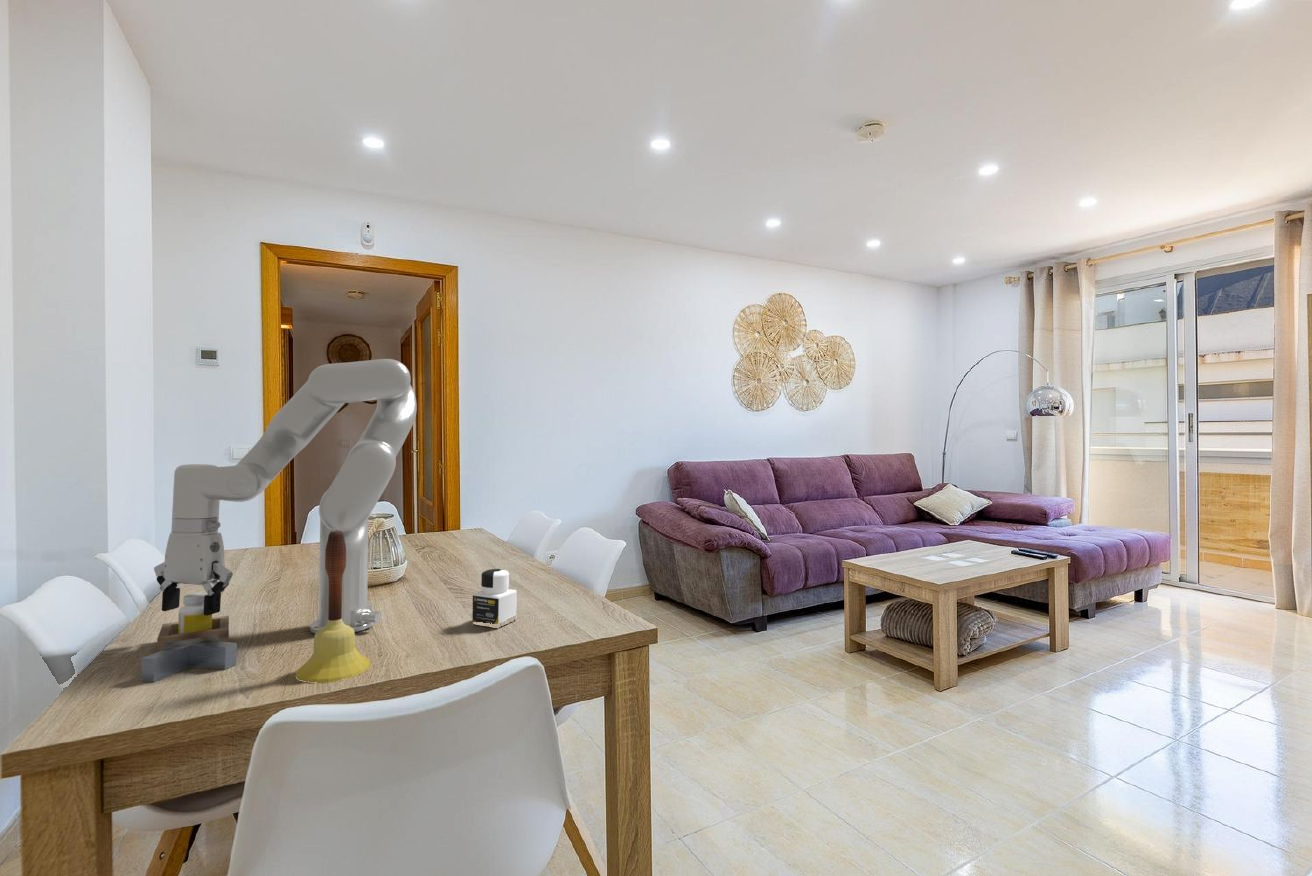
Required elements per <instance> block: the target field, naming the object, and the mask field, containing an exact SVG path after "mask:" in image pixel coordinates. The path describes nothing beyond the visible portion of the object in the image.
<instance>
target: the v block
mask: <svg viewBox="0 0 1312 876" xmlns="http://www.w3.org/2000/svg"><path fill="white" fill-rule="evenodd" d="M237 645H238V644H237V642H231V641H230V642H218V635H214V636H208V637H201V638H194V639H188V640H181V641H174V642H167V643H164V645H163V650H162V651H159V652H157V651H156V652H155V653H152V654H148V655H145V656H143V657H141V682H146V683H155V682H158V681H160V680H163V679H165V678H167V677H170V676H174V675H175V674H178V673H180V672H183V671H185V670H187V669H190V668H198V669H210V670H211V669H214V670H225V671H226V670H228V669H230V668H233V667H235V666H236V665H237V655H238V653H237V647H238V646H237ZM234 665H235V666H234Z"/></svg>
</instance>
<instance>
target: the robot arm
mask: <svg viewBox="0 0 1312 876" xmlns="http://www.w3.org/2000/svg"><path fill="white" fill-rule="evenodd" d="M411 381H412V380H411V372H410V371H409V369H408V368H407V366H406V365H405V364H404V363H402V362H400V361H399V360H395V359H392V358H379V359H378V358H377V359H370V360H361V361H360V360H359V361H350V362H335V363H326V364H321V365H320V366H317V367H316V368H314V369H313V370H312V371H311V372H310V374H309V376H308V378H307V381H306V382H305V383H304V384H303V385H302V386H301V387H300V388H299V389H298V391H296V393H295V394H293V396H292V397H290V399H289V400H288V401H287V402H286V403H285V404H283V406H282V407H281V408H280V409H279V410H278V411H277V412H276V414H274V415H273V417H272V418H271V420H270V421H269V423H268V426H267V427H266V430H265V431H264V433H263V434H262V436H261V437H260V439H259V440H258V441H257V442H256V443H255V444H254V445H253V447H251V449H250V450H249V451H248V452H247V453H246V454H245V455H244V456H243V457H242V458H241V459H240V460H239V462H237V463H236V464H235V465H229V466H228V465H227V466H217V465H214V464H205V463H203V464H202V463H199V464H196V463H193V464H191V463H190V464H189V463H188V464H187V463H186V464H181V465H179V466H177V467H176V468H175V470H174V473H173V489H172V491H173V495H172V509H171V511H172V513H171V527H170V528H171V529H170V530H171V531H170V533H169V536H168V540H167V543H166V549H165V553H164V554H165V555H164V561H163V562H161V563H159V564H158V565H156V566H154V567H153V571H154V573H155V576H156V582H157V583H158V584H159V585H160V586H159V590H160V591H161V592H162V596H161V611H162V612H167V611H171V610H174V609H178V608H179V607H180V602H181V601H180V599H181V587H178V586H179V585H180V584H184V585H186V584H187V585H194V586H195V585H197V586H200V585H201V586H202V587H203V589H204V591H205V593H207V594H208V595H205V596H204V611H203V614H204V615H206V616H208V615H211V614H212V615H214V614H217V613H219V612H220V611H221V601H222V593H224V591H225V589H226V588H227V587H228V586H229V584H230V582H231V579H232V577H233V576H234V575H233V572H232V571H231V570H230V569H228V568H227V567H225V565H226V562H225V560H226V559H225V546H224V545H225V544H224V539H223V536H222V532H219V528H220V527H221V522H220V519H219V518H220V501H226V502H232V503H233V502H235V503H244V502H248V501H252V500H253V499H255V498H256V497H258V496H259V495H260V494H262V492H264V491H265V490H266V488H268V486H269V485H270V484H271V483H272V482H273V481H274V479H276V478H277V476H278V475H279V474H280V473H281V472H282V471H283V470H284V468H285V467H286V466H287V465H288V464H289V463H290V462H291V461H292V460H293V459H294V458H295V457H296V455H298V453H300V452H301V451H302V450H303V449H304V448H306V447H307V446H308V445H309V443H310V442H311V441H312V440H314V438H315V436H317V435H318V433H319V432H321V430H322V429H323V428H324V427H325V426H326V425H327V424H328V422H329V421H330V420H331V418H333V417H334V415H336V414H337V413H338V412H339V410H340V409H341V408H342V407H343V406H344V404H348V403H349V404H350V403H360V402H361V403H362V402H370V401H375V400H376V408H375V411H374V413H373V414H372V417H371V418H370V420H369V421H368V424H367V426H366V427H365V429H364V431H363V432H362V434H361V436H360V437H359V439H358V440H357V442H356V443H355V445H353V447H351V449H350V450H349V453H348V454H347V457H346V458H345V460H344V462H343V463H342V465H341V467H340V469H339V471H338V472H337V474H336V476H335V477H334V480H333V481H332V483H331V484H330V485H329V488H328V489H327V490H326V491H324V493H323V495H322V496H321V499H320V501H319V507H318V513H319V564H318V565H319V566H318V568H319V569H318V619H316V620H314V621H313V622H311V624H310V626H309V629H310V632H311V633H312V634H314V635H315V634H316V633H317V632H318V631H319V630H320V629H321V628H323V627H325V626H326V624H327V622H328V605H329V579H328V574H327V571H326V568H325V551H326V545H327V541H328V536H329V533H330V532H331V531H342V532H343V535H344V541H345V545H346V567H345V570H344V573H343V577H342V621H343V623H344V624H345V625H348V626H350V627H351V628H353V630H354V632H355V633H357V632H360V631H364V630H367V629H369V628H371V627H372V626H374V624H377V623H379V622H380V620H381V617H382V615H383V613H382V611H381V610H380V611H379V610H372V606H373V605H372V603H368V579H369V577H368V573H369V571H368V568H369V567H368V566H369V565H368V564H369V560H368V559H369V557H368V556H369V517H370V515H371V513H372V512H373V511H374V508H375V507H376V506H377V503H379V500H380V498H381V497H382V495H383V493H384V492H385V489H386V487H387V486H388V484H389V482H390V480H391V479H392V477H393V476H394V475H393V474H394V472H395V470H396V465H397V459H396V458H397V456H398V454H399V452H400V450H401V448H402V447H403V445H404V443H405V441H406V440H407V437H408V435H409V434H410V431H411V429H412V427H413V425H414V423H415V420H416V415H417V411H418V409H417V407H418V406H417V398H416V393H415V391H414V388H413V387H412V385H411ZM212 585H213V586H212Z"/></svg>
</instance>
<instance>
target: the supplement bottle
mask: <svg viewBox="0 0 1312 876" xmlns="http://www.w3.org/2000/svg"><path fill="white" fill-rule="evenodd" d="M205 595H208V594H207V592H196V593H190V594H186V595H183V598H182V600H183V601H182V602H183V606H182V607H181V608H179V610H178V621H177V622H179V623H178V634H183V633H190V632H197V631H205V630H212V618H213V614H211V615H208V616H206V615H204V614H203V611H204V596H205Z"/></svg>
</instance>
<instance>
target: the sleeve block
mask: <svg viewBox="0 0 1312 876" xmlns="http://www.w3.org/2000/svg"><path fill="white" fill-rule="evenodd" d="M229 622H230V615H222V616H221V615H220V616H215V617H213V616H212V630H205V631H197V632H190V633H183V634H178V623H179V622H178V621H175V622H168V623H167V622H166V623H162V625H161V628H160V629H159V630H160V631H159V632H158V636H157V639H156V640H157V641H156V642H157V645H156V653H157V652H159V651H162V650H163V645H164V643H167V642H174V641H181V640H188V639H194V638H201V637H208V636H214V635H218V642H229V637H230V636H229V634H230V632H229V631H230V625H229V624H230V623H229Z"/></svg>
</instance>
